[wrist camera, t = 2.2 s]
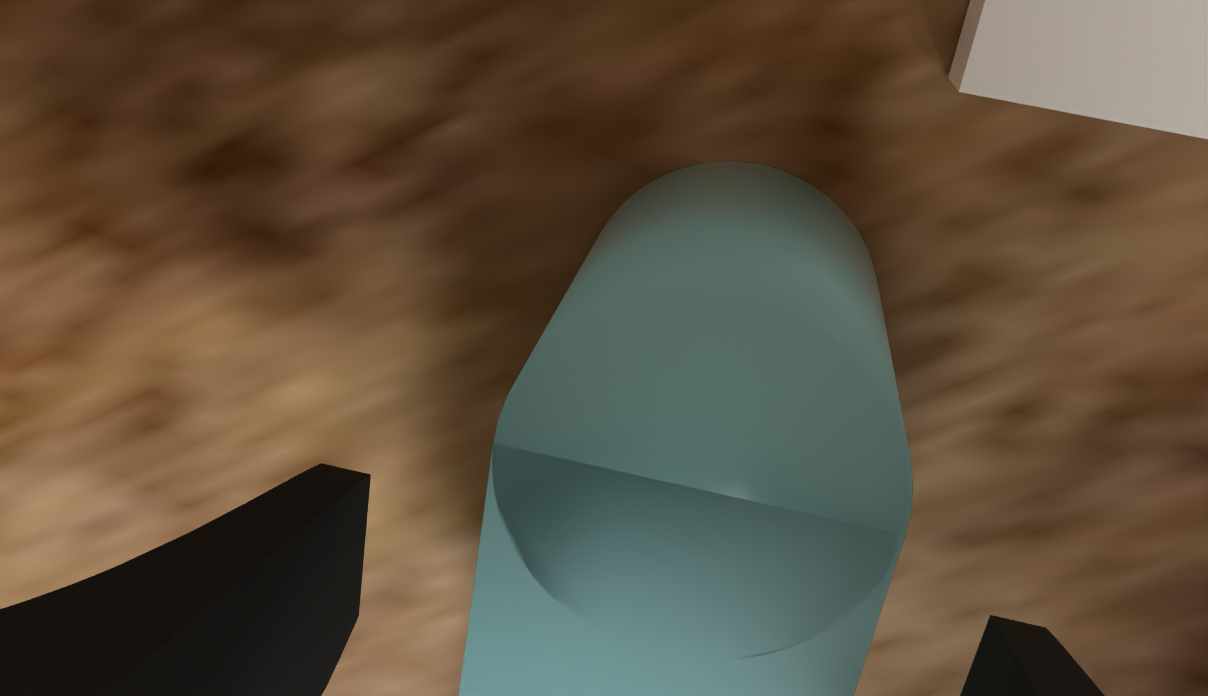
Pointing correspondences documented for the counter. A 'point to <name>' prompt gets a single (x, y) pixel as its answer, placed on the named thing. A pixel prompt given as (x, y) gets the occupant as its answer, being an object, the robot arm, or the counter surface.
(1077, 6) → the tile
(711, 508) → the plug block
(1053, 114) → the counter surface
